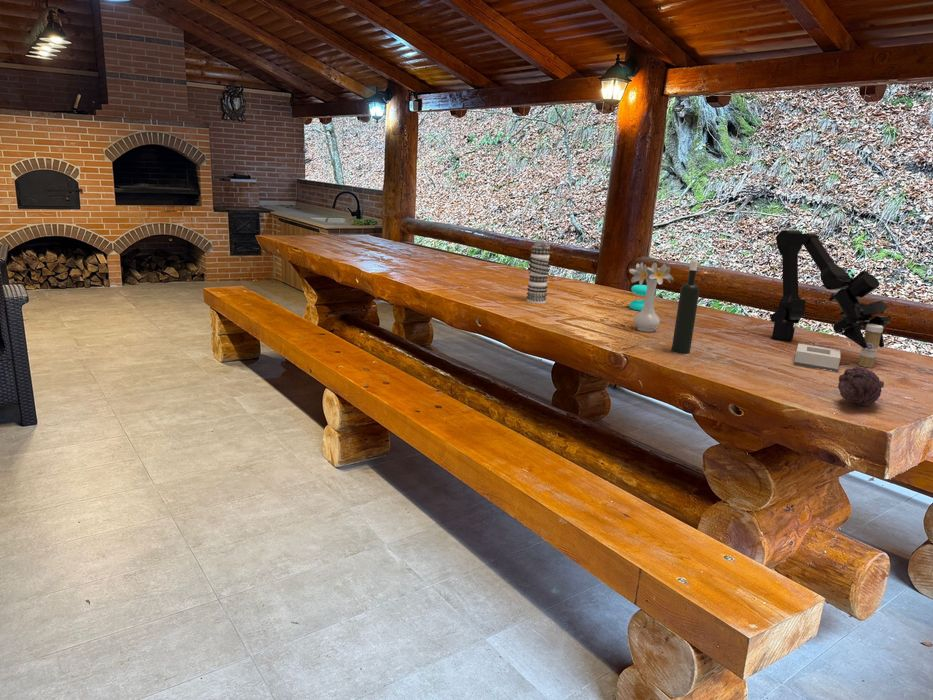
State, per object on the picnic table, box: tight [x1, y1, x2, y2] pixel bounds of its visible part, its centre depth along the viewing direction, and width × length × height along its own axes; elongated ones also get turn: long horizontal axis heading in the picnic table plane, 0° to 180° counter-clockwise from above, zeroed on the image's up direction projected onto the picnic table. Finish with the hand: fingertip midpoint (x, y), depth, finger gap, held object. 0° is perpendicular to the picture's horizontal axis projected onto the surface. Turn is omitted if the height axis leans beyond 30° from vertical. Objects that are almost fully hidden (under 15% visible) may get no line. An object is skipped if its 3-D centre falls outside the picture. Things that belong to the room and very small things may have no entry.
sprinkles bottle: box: [857, 324, 884, 369], centre depth 203 cm, size 5×5×13 cm
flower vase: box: [628, 262, 675, 333], centre depth 234 cm, size 13×18×25 cm
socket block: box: [793, 343, 841, 372], centre depth 203 cm, size 12×12×4 cm
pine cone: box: [837, 366, 885, 407], centre depth 165 cm, size 18×10×10 cm, turn 131°
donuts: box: [628, 284, 657, 312], centre depth 274 cm, size 10×10×10 cm
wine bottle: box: [671, 258, 700, 355], centre depth 206 cm, size 6×6×30 cm
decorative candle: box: [526, 242, 551, 304], centre depth 276 cm, size 9×9×25 cm
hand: (874, 347), depth 202 cm, fingers open, 7 cm apart
